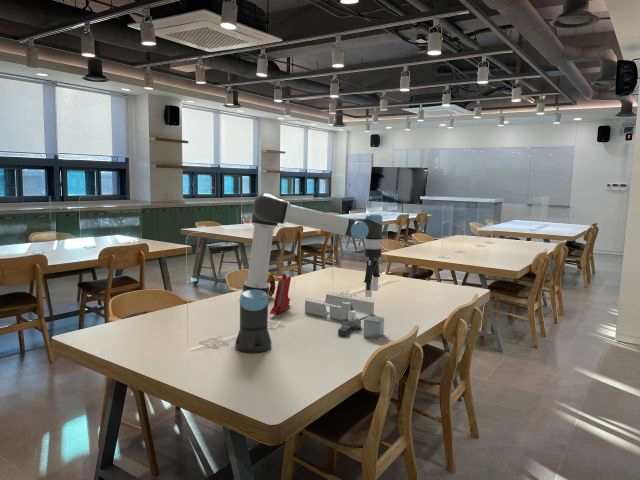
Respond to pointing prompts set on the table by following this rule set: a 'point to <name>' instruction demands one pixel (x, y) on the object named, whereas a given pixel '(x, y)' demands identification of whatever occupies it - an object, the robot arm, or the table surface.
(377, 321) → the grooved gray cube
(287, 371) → the table surface
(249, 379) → the table surface
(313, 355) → the table surface
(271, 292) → the mug
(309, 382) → the table surface
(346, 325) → the ratchet
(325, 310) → the skate ramp
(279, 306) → the tool
